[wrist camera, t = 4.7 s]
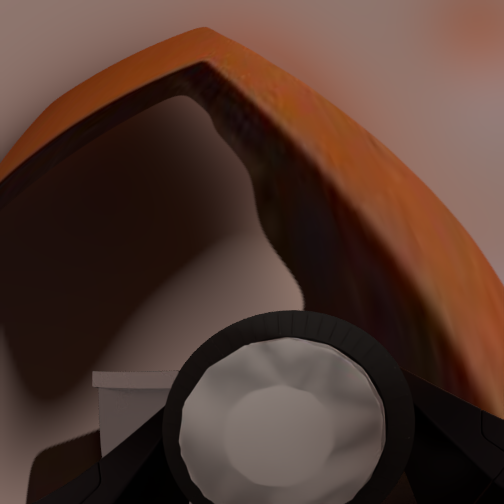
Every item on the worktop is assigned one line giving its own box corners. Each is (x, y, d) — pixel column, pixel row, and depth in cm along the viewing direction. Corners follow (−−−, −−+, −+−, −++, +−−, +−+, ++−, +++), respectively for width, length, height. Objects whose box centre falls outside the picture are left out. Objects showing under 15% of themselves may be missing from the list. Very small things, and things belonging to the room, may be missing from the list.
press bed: (231, 545, 12) (218, 565, 9) (123, 530, 12) (99, 541, 10) (211, 376, 18) (195, 369, 15) (107, 378, 19) (81, 370, 16)
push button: (283, 505, 10) (223, 617, 2) (210, 435, 13) (65, 444, 5) (381, 412, 12) (482, 404, 4) (303, 347, 15) (275, 243, 6)
